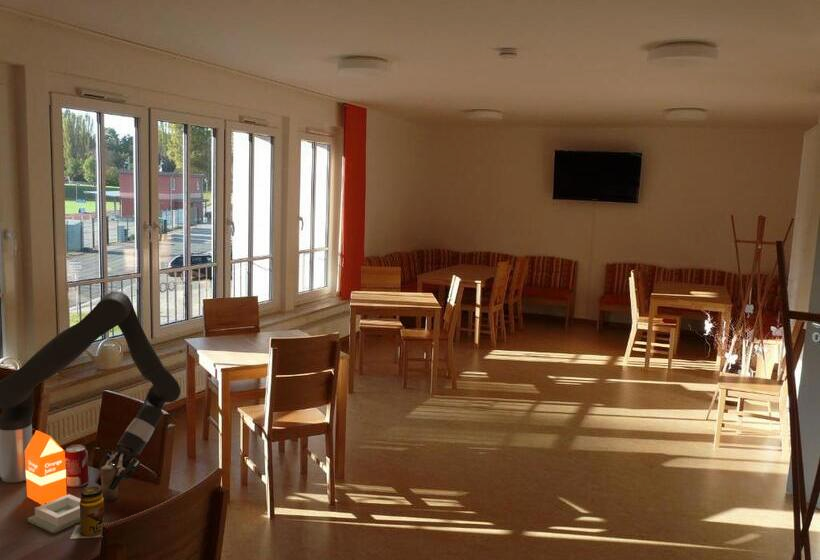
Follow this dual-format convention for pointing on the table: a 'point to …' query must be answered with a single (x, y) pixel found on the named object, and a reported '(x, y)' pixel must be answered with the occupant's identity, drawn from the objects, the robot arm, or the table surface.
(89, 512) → the condiment
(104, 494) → the roller
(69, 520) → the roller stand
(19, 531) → the table surface
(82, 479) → the soda can
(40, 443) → the orange juice
